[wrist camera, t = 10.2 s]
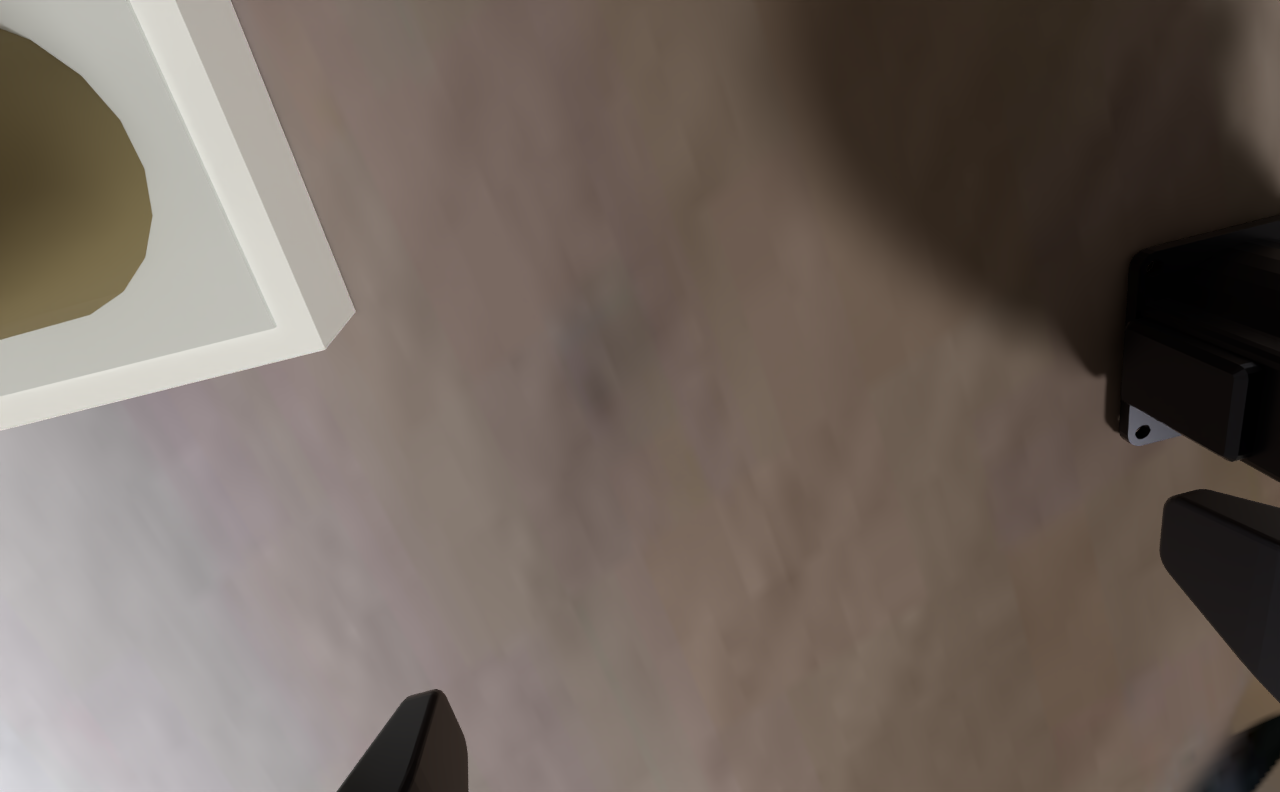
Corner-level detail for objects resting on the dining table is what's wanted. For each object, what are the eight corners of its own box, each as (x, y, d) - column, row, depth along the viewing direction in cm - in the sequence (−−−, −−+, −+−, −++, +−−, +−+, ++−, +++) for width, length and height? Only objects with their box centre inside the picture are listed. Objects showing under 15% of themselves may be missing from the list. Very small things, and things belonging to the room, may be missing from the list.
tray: (179, -128, 16) (97, -173, 13) (355, 311, 20) (323, 351, 17) (-288, -17, 16) (-476, -37, 13) (-12, 402, 20) (-107, 458, 17)
